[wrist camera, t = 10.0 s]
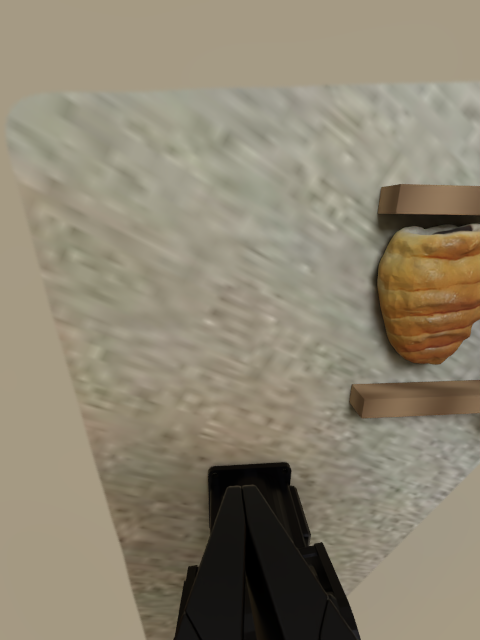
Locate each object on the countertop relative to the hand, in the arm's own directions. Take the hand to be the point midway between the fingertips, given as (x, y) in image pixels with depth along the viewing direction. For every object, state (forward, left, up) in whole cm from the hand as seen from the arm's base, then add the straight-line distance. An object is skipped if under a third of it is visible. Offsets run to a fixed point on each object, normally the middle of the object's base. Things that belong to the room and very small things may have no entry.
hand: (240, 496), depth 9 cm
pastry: (+14, +3, -13) cm, 19 cm away
